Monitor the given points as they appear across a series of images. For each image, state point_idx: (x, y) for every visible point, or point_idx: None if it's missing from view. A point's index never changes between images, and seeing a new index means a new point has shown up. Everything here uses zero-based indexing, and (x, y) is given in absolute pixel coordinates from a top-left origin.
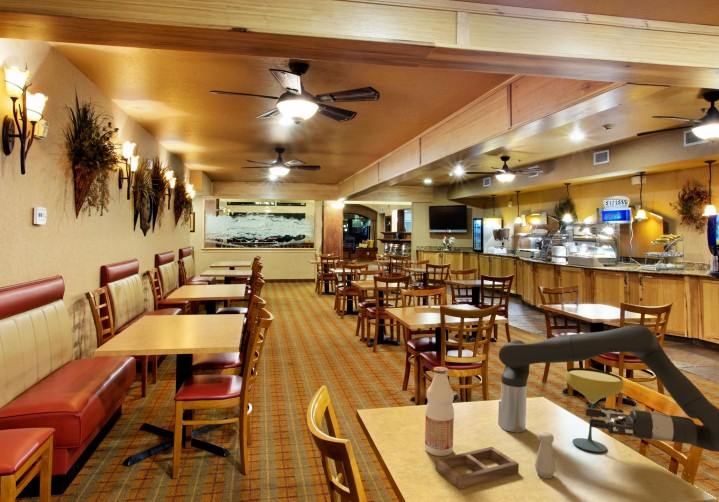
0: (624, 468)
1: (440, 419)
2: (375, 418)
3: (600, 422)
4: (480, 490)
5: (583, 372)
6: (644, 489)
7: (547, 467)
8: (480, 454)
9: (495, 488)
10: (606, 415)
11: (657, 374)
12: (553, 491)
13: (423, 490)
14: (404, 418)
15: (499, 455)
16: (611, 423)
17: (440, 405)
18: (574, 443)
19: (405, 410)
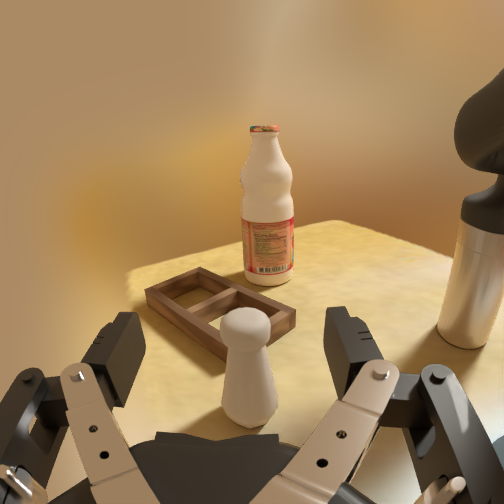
0: None
1: (241, 215)
2: (323, 227)
3: (93, 351)
4: (148, 323)
5: None
6: None
7: (222, 396)
8: (258, 304)
9: (158, 338)
10: (410, 440)
11: None
12: (168, 425)
13: (140, 280)
14: (349, 240)
15: None
16: (30, 378)
17: (243, 190)
18: (494, 443)
19: (377, 237)
